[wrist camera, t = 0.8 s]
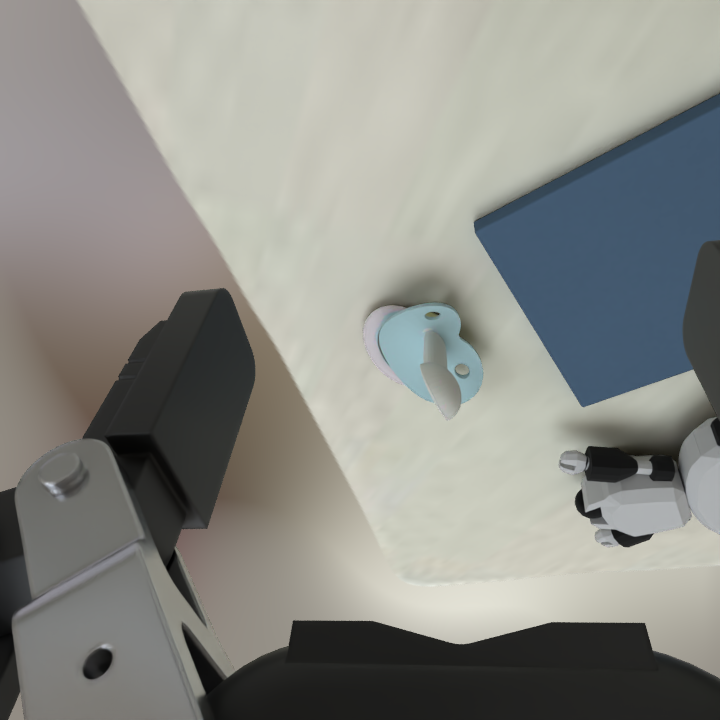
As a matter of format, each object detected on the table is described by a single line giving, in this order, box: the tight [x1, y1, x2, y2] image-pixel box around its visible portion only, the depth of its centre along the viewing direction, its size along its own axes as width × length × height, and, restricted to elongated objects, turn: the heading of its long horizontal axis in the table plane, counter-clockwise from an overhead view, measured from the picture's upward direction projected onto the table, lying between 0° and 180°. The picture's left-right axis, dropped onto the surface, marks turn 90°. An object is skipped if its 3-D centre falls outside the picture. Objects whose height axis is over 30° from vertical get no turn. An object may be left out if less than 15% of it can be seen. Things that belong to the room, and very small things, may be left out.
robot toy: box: [559, 417, 720, 547], centre depth 37 cm, size 12×4×15 cm
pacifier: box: [363, 303, 483, 420], centre depth 32 cm, size 7×6×6 cm
